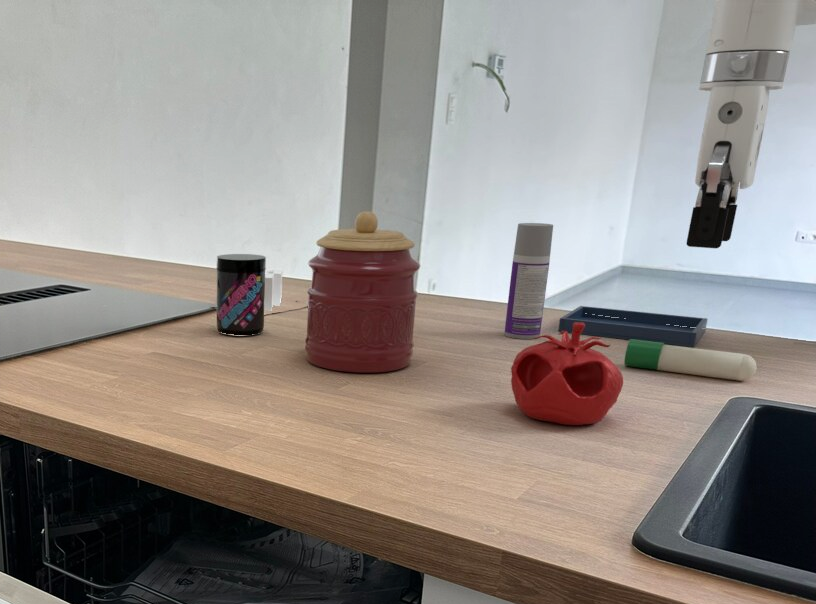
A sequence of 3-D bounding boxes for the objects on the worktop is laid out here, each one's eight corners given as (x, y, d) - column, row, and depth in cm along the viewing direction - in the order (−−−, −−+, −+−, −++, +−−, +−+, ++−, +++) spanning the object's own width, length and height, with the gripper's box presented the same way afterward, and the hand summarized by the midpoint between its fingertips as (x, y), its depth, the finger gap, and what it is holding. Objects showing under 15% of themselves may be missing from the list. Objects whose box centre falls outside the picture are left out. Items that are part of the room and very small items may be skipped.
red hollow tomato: (528, 396, 90) (540, 308, 87) (629, 414, 84) (645, 320, 81) (490, 418, 83) (501, 322, 80) (597, 439, 77) (613, 337, 74)
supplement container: (206, 333, 120) (206, 257, 116) (234, 325, 125) (235, 252, 121) (246, 339, 116) (247, 261, 112) (273, 331, 121) (275, 256, 118)
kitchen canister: (405, 378, 97) (418, 217, 91) (293, 369, 101) (298, 213, 95) (417, 353, 108) (429, 209, 102) (316, 346, 112) (323, 206, 106)
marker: (754, 378, 97) (760, 351, 96) (752, 385, 95) (758, 357, 94) (628, 362, 104) (632, 336, 103) (622, 368, 102) (627, 342, 101)
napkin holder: (270, 296, 149) (270, 263, 147) (322, 304, 141) (323, 269, 140) (209, 307, 139) (209, 271, 137) (261, 316, 131) (262, 279, 129)
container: (506, 331, 122) (519, 222, 117) (541, 334, 120) (556, 223, 115) (501, 337, 118) (514, 225, 113) (537, 340, 116) (552, 226, 111)
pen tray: (705, 331, 122) (707, 318, 122) (693, 347, 113) (696, 333, 112) (578, 318, 131) (580, 305, 131) (558, 331, 122) (559, 318, 121)
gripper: (780, 65, 80) (740, 253, 86) (789, 79, 93) (754, 240, 99) (690, 68, 84) (658, 247, 89) (711, 81, 97) (681, 235, 103)
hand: (708, 243), depth 94 cm, fingers open, 9 cm apart
